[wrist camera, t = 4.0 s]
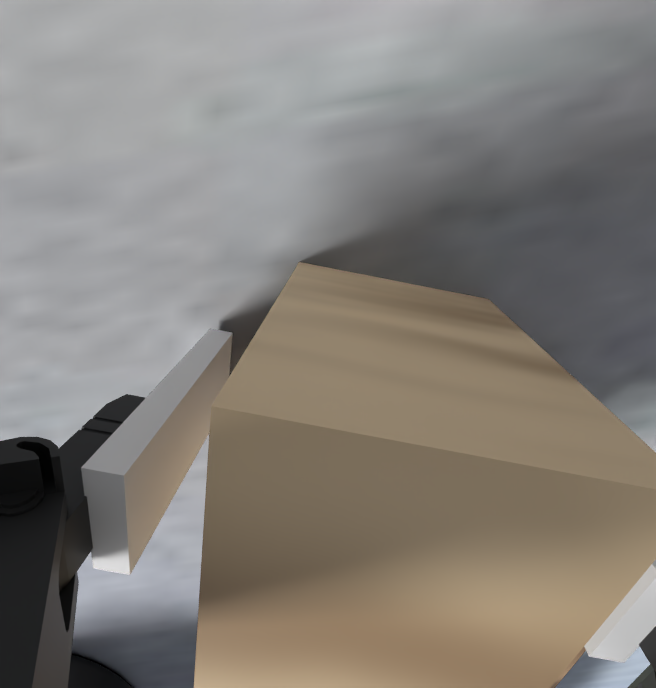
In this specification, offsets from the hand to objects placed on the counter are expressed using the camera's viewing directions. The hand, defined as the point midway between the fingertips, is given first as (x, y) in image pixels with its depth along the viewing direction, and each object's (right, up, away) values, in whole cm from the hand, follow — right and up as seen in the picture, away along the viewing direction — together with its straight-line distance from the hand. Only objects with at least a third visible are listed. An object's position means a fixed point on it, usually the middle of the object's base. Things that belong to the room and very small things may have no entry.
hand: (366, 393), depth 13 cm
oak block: (0, 0, 0) cm, 0 cm away
